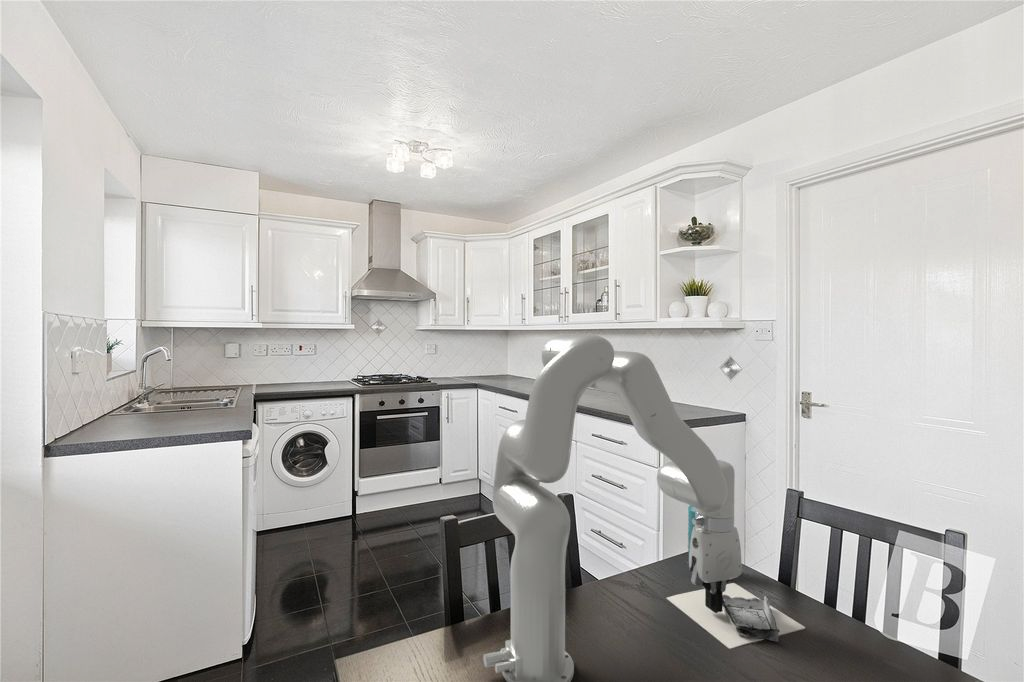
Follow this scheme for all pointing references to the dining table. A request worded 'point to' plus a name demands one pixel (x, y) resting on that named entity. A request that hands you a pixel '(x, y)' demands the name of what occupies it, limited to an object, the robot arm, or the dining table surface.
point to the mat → (720, 622)
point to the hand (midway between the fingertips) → (713, 608)
